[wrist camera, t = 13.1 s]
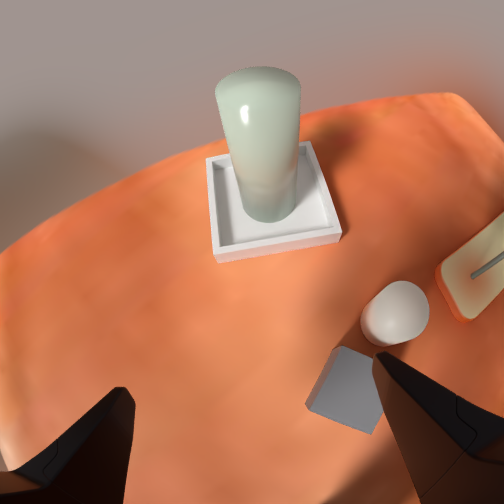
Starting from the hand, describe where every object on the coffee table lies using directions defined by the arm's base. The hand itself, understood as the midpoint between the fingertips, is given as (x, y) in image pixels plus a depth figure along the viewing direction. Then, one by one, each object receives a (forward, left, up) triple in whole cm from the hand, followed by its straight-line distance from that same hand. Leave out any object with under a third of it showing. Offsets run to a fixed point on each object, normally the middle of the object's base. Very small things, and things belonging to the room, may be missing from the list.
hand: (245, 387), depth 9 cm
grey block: (-6, -2, -14) cm, 15 cm away
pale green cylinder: (+9, -13, -13) cm, 21 cm away
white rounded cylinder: (-6, -9, -14) cm, 17 cm away
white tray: (+9, -13, -14) cm, 21 cm away
